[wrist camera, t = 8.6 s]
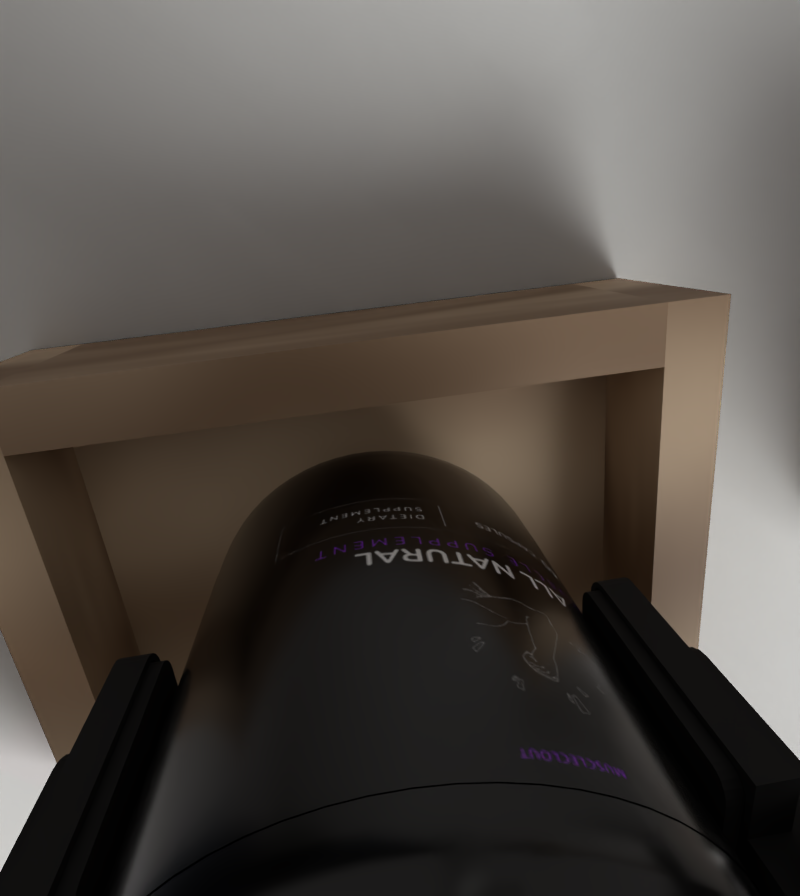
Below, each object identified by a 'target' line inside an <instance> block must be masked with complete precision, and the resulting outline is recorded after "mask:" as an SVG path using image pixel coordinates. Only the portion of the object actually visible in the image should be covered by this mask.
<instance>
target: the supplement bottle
mask: <svg viewBox="0 0 800 896" xmlns="http://www.w3.org/2000/svg"><path fill="white" fill-rule="evenodd" d="M103 896H762V895H761V893H760V891H759V889H758V887H757V886H756V884H755V882H754V881H753V879H752V878H751V876H750V874H749V873H748V871H747V870H746V868H745V866H744V865H743V863H742V862H741V860H740V859H739V857H738V855H737V854H736V852H735V851H734V849H733V848H732V846H731V845H730V843H729V841H728V840H727V838H726V837H725V835H724V834H723V832H722V831H721V829H720V827H719V826H718V824H717V823H716V821H715V820H714V818H713V817H712V815H711V813H710V812H709V810H708V809H707V807H706V806H705V804H704V803H703V801H702V799H701V798H700V796H699V795H698V793H697V792H696V790H695V788H694V787H693V785H692V784H691V782H690V781H689V779H688V778H687V776H686V774H685V773H684V771H683V770H682V768H681V767H680V765H679V764H678V762H677V761H676V759H675V757H674V756H673V754H672V753H671V751H670V750H669V748H668V747H667V745H666V743H665V742H664V740H663V739H662V737H661V736H660V734H659V733H658V731H657V729H656V728H655V726H654V725H653V723H652V722H651V720H650V719H649V717H648V715H647V714H646V712H645V711H644V709H643V708H642V706H641V705H640V703H639V701H638V700H637V698H636V697H635V695H634V694H633V692H632V691H631V689H630V687H629V686H628V684H627V683H626V681H625V680H624V678H623V677H622V675H621V673H620V672H619V670H618V669H617V667H616V666H615V664H614V663H613V661H612V659H611V658H610V656H609V655H608V653H607V652H606V650H605V649H604V647H603V645H602V644H601V642H600V641H599V639H598V638H597V636H596V635H595V633H594V631H593V630H592V628H591V627H590V625H589V624H588V622H587V621H586V619H585V617H584V616H583V614H582V613H581V611H580V610H579V608H578V607H577V605H576V603H575V602H574V600H573V599H572V597H571V596H570V594H569V593H568V591H567V590H566V588H565V586H564V585H563V583H562V582H561V580H560V579H559V577H558V576H557V574H556V572H555V571H554V569H553V568H552V566H551V565H550V563H549V562H548V560H547V558H546V557H545V555H544V554H543V552H542V551H541V549H540V548H539V546H538V544H537V543H536V541H535V540H534V539H533V537H532V536H531V534H530V533H529V531H528V530H527V529H526V527H525V526H524V524H523V523H522V521H521V520H520V518H519V517H518V516H517V514H516V513H515V511H514V510H513V509H512V508H511V507H510V506H509V505H508V503H507V502H506V501H505V500H504V499H503V498H502V497H501V496H500V495H499V494H498V493H497V492H496V491H495V490H494V489H493V488H492V487H490V486H489V485H488V484H487V483H485V482H484V481H482V480H481V479H480V478H478V477H477V476H475V475H473V474H472V473H470V472H468V471H466V470H465V469H463V468H460V467H458V466H456V465H454V464H451V463H449V462H446V461H443V460H440V459H437V458H434V457H430V456H426V455H422V454H417V453H410V452H402V451H370V452H362V453H355V454H350V455H346V456H341V457H337V458H334V459H331V460H328V461H325V462H322V463H319V464H317V465H315V466H313V467H311V468H308V469H306V470H304V471H302V472H301V473H299V474H297V475H295V476H294V477H292V478H290V479H289V480H287V481H286V482H284V483H283V484H282V485H280V486H279V487H277V488H276V489H275V490H273V491H272V492H271V493H270V494H269V495H268V496H267V497H265V498H264V499H263V500H262V501H261V502H260V503H259V504H258V505H257V507H256V508H255V509H254V510H253V511H252V512H251V513H250V515H249V516H248V517H247V519H246V520H245V521H244V523H243V524H242V526H241V527H240V529H239V531H238V532H237V534H236V536H235V537H234V539H233V541H232V543H231V545H230V547H229V550H228V552H227V554H226V556H225V559H224V561H223V564H222V567H221V569H220V572H219V574H218V576H217V579H216V582H215V584H214V587H213V590H212V593H211V595H210V598H209V601H208V604H207V607H206V609H205V612H204V615H203V618H202V621H201V623H200V626H199V629H198V632H197V635H196V637H195V640H194V643H193V646H192V648H191V651H190V654H189V657H188V660H187V662H186V665H185V668H184V671H183V674H182V676H181V679H180V682H179V685H178V688H177V690H176V693H175V696H174V699H173V701H172V704H171V707H170V710H169V713H168V715H167V718H166V721H165V724H164V727H163V729H162V732H161V735H160V738H159V741H158V743H157V746H156V749H155V752H154V754H153V757H152V760H151V763H150V766H149V768H148V771H147V774H146V777H145V780H144V782H143V785H142V788H141V791H140V794H139V796H138V799H137V802H136V805H135V807H134V810H133V813H132V816H131V819H130V821H129V824H128V827H127V830H126V833H125V835H124V838H123V841H122V844H121V847H120V849H119V852H118V855H117V858H116V860H115V863H114V866H113V869H112V872H111V874H110V877H109V880H108V883H107V886H106V888H105V891H104V894H103Z"/></svg>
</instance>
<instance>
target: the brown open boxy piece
mask: <svg viewBox="0 0 800 896" xmlns="http://www.w3.org/2000/svg"><path fill="white" fill-rule="evenodd" d="M730 299H731V294H726V293H719V292H712V291H705V290H698V289H691V288H684V287H676V286H669V285H662V284H655V283H648V282H641V281H634V280H627V279H620V278H617V279H608V280H600V281H592V282H584V283H576V284H568V285H560V286H551V287H543V288H535V289H527V290H519V291H511V292H503V293H494V294H486V295H478V296H470V297H462V298H454V299H446V300H437V301H429V302H421V303H413V304H405V305H397V306H389V307H380V308H372V309H364V310H356V311H348V312H340V313H332V314H323V315H315V316H307V317H299V318H291V319H283V320H275V321H266V322H258V323H250V324H242V325H234V326H226V327H218V328H209V329H201V330H193V331H185V332H177V333H169V334H161V335H152V336H144V337H136V338H128V339H120V340H112V341H104V342H95V343H87V344H79V345H71V346H63V347H55V348H47V349H38V350H31V351H28V352H25V353H23V354H20V355H17V356H15V357H12V358H10V359H7V360H4V361H2V362H0V630H1V632H2V634H3V637H4V639H5V641H6V644H7V646H8V649H9V651H10V653H11V656H12V658H13V660H14V663H15V665H16V667H17V670H18V672H19V675H20V677H21V679H22V682H23V684H24V686H25V689H26V691H27V693H28V696H29V698H30V701H31V703H32V705H33V708H34V710H35V712H36V715H37V717H38V719H39V722H40V724H41V726H42V729H43V731H44V734H45V736H46V738H47V741H48V743H49V745H50V748H51V750H52V752H53V755H54V757H55V760H56V762H57V763H58V761H59V760H60V759H61V758H62V757H63V756H65V755H66V754H69V753H70V751H71V749H72V747H73V745H74V743H75V741H76V739H77V737H78V735H79V733H80V731H81V729H82V727H83V725H84V723H85V721H86V719H87V717H88V715H89V713H90V711H91V709H92V707H93V705H94V703H95V701H96V699H97V697H98V695H99V693H100V691H101V689H102V687H103V685H104V683H105V681H106V679H107V677H108V675H109V673H110V671H111V669H112V667H113V665H114V663H115V662H116V661H117V660H118V659H120V658H126V657H132V656H138V655H144V654H151V653H155V654H157V656H158V657H159V659H160V661H164V660H168V661H169V662H170V663H171V665H172V668H173V671H174V675H175V678H176V681H177V684H178V685H179V682H180V679H181V676H182V674H183V671H184V668H185V665H186V662H187V660H188V657H189V654H190V651H191V648H192V646H193V643H194V640H195V637H196V635H197V632H198V629H199V626H200V623H201V621H202V618H203V615H204V612H205V609H206V607H207V604H208V601H209V598H210V595H211V593H212V590H213V587H214V584H215V582H216V579H217V576H218V574H219V572H220V569H221V567H222V564H223V561H224V559H225V556H226V554H227V552H228V550H229V547H230V545H231V543H232V541H233V539H234V537H235V536H236V534H237V532H238V531H239V529H240V527H241V526H242V524H243V523H244V521H245V520H246V519H247V517H248V516H249V515H250V513H251V512H252V511H253V510H254V509H255V508H256V507H257V505H258V504H259V503H260V502H261V501H262V500H263V499H264V498H265V497H267V496H268V495H269V494H270V493H271V492H272V491H273V490H275V489H276V488H277V487H279V486H280V485H282V484H283V483H284V482H286V481H287V480H289V479H290V478H292V477H294V476H295V475H297V474H299V473H301V472H302V471H304V470H306V469H308V468H311V467H313V466H315V465H317V464H319V463H322V462H325V461H328V460H331V459H334V458H337V457H341V456H346V455H350V454H355V453H362V452H370V451H402V452H410V453H417V454H422V455H426V456H430V457H434V458H437V459H440V460H443V461H446V462H449V463H451V464H454V465H456V466H458V467H460V468H463V469H465V470H466V471H468V472H470V473H472V474H473V475H475V476H477V477H478V478H480V479H481V480H482V481H484V482H485V483H487V484H488V485H489V486H490V487H492V488H493V489H494V490H495V491H496V492H497V493H498V494H499V495H500V496H501V497H502V498H503V499H504V500H505V501H506V502H507V503H508V505H509V506H510V507H511V508H512V509H513V510H514V511H515V513H516V514H517V516H518V517H519V518H520V520H521V521H522V523H523V524H524V526H525V527H526V529H527V530H528V531H529V533H530V534H531V536H532V537H533V539H534V540H535V541H536V543H537V544H538V546H539V548H540V549H541V551H542V552H543V554H544V555H545V557H546V558H547V560H548V562H549V563H550V565H551V566H552V568H553V569H554V571H555V572H556V574H557V576H558V577H559V579H560V580H561V582H562V583H563V585H564V586H565V588H566V590H567V591H568V593H569V594H570V596H571V597H572V599H573V600H574V602H575V603H576V605H577V607H578V608H579V610H580V611H581V613H582V598H583V594H584V593H585V592H589V591H591V587H592V584H593V583H594V582H598V581H604V580H610V579H616V578H623V577H626V578H628V579H630V580H631V581H632V582H633V583H634V585H635V586H636V587H637V588H638V589H639V590H640V591H641V593H642V594H643V595H644V596H645V597H646V598H647V600H648V601H649V602H650V603H651V604H652V605H653V606H654V608H655V609H656V610H657V611H658V612H659V613H660V614H661V616H662V617H663V618H664V619H665V620H666V621H667V622H668V624H669V625H670V626H671V627H672V628H673V629H674V631H675V632H676V633H677V634H678V635H679V636H680V637H681V639H682V640H683V641H684V642H685V643H686V644H687V645H688V647H694V648H696V649H698V643H699V632H700V621H701V611H702V600H703V589H704V578H705V568H706V557H707V546H708V536H709V525H710V514H711V503H712V493H713V482H714V471H715V460H716V450H717V439H718V428H719V417H720V407H721V396H722V385H723V375H724V364H725V353H726V342H727V332H728V321H729V310H730Z"/></svg>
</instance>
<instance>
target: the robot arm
mask: <svg viewBox="0 0 800 896" xmlns="http://www.w3.org/2000/svg"><path fill="white" fill-rule="evenodd" d="M582 614H583V616H584V617H585V619H586V621H587V622H588V624H589V625H590V627H591V628H592V630H593V631H594V633H595V635H596V636H597V638H598V639H599V641H600V642H601V644H602V645H603V647H604V649H605V650H606V652H607V653H608V655H609V656H610V658H611V659H612V661H613V663H614V664H615V666H616V667H617V669H618V670H619V672H620V673H621V675H622V677H623V678H624V680H625V681H626V683H627V684H628V686H629V687H630V689H631V691H632V692H633V694H634V695H635V697H636V698H637V700H638V701H639V703H640V705H641V706H642V708H643V709H644V711H645V712H646V714H647V715H648V717H649V719H650V720H651V722H652V723H653V725H654V726H655V728H656V729H657V731H658V733H659V734H660V736H661V737H662V739H663V740H664V742H665V743H666V745H667V747H668V748H669V750H670V751H671V753H672V754H673V756H674V757H675V759H676V761H677V762H678V764H679V765H680V767H681V768H682V770H683V771H684V773H685V774H686V776H687V778H688V779H689V781H690V782H691V784H692V785H693V787H694V788H695V790H696V792H697V793H698V795H699V796H700V798H701V799H702V801H703V803H704V804H705V806H706V807H707V809H708V810H709V812H710V813H711V815H712V817H713V818H714V820H715V821H716V823H717V824H718V826H719V827H720V829H721V831H722V832H723V834H724V835H725V837H726V838H727V840H728V841H729V843H730V845H731V846H732V848H733V849H734V851H735V852H736V854H737V855H738V857H739V859H740V860H741V862H742V863H743V865H744V866H745V868H746V870H747V871H748V873H749V874H750V876H751V878H752V879H753V881H754V882H755V884H756V886H757V887H758V889H759V891H760V893H761V895H762V896H800V760H799V759H798V758H797V757H796V756H795V755H794V753H793V752H792V751H791V750H790V749H789V748H788V747H787V746H786V744H785V743H784V742H783V741H782V740H781V739H780V738H779V737H778V736H777V734H776V733H775V732H774V731H773V730H772V729H771V728H770V727H769V725H768V724H767V723H766V722H765V721H764V720H763V719H762V718H761V717H760V715H759V714H758V713H757V712H756V711H755V710H754V709H753V708H752V706H751V705H750V704H749V703H748V702H747V701H746V700H745V699H744V697H743V696H742V695H741V694H740V693H739V692H738V691H737V690H736V689H735V687H734V686H733V685H732V684H731V683H730V682H729V681H728V680H727V678H726V677H725V676H724V675H723V674H722V673H721V672H720V671H719V670H718V668H717V667H716V666H715V665H714V664H713V663H712V662H711V661H710V659H709V658H708V657H707V656H706V655H705V654H704V653H702V652H701V651H700V650H699V649H696V648H694V647H688V645H687V644H686V643H685V642H684V641H683V640H682V639H681V637H680V636H679V635H678V634H677V633H676V632H675V631H674V629H673V628H672V627H671V626H670V625H669V624H668V622H667V621H666V620H665V619H664V618H663V617H662V616H661V614H660V613H659V612H658V611H657V610H656V609H655V608H654V606H653V605H652V604H651V603H650V602H649V601H648V600H647V598H646V597H645V596H644V595H643V594H642V593H641V591H640V590H639V589H638V588H637V587H636V586H635V585H634V583H633V582H632V581H631V580H630V579H628V578H626V577H623V578H616V579H610V580H604V581H598V582H594V583H593V584H592V587H591V591H589V592H585V593H584V594H583V598H582ZM177 688H178V684H177V681H176V678H175V675H174V671H173V668H172V665H171V663H170V662H169V661H168V660H164V661H160V659H159V657H158V656H157V654H155V653H151V654H144V655H138V656H132V657H126V658H120V659H118V660H117V661H116V662H115V663H114V665H113V667H112V669H111V671H110V673H109V675H108V677H107V679H106V681H105V683H104V685H103V687H102V689H101V691H100V693H99V695H98V697H97V699H96V701H95V703H94V705H93V707H92V709H91V711H90V713H89V715H88V717H87V719H86V721H85V723H84V725H83V727H82V729H81V731H80V733H79V735H78V737H77V739H76V741H75V743H74V745H73V747H72V749H71V751H70V753H69V754H66V755H65V756H63V757H62V758H61V759H60V760H59V761H58V763H57V764H56V766H55V767H54V769H53V771H52V772H51V774H50V776H49V778H48V780H47V782H46V784H45V786H44V788H43V790H42V792H41V794H40V796H39V798H38V800H37V802H36V804H35V806H34V808H33V809H32V811H31V813H30V815H29V817H28V819H27V821H26V823H25V825H24V827H23V829H22V831H21V833H20V835H19V837H18V839H17V841H16V843H15V845H14V847H13V848H12V850H11V852H10V854H9V856H8V858H7V860H6V862H5V864H4V866H3V868H2V870H1V872H0V896H103V894H104V891H105V888H106V886H107V883H108V880H109V877H110V874H111V872H112V869H113V866H114V863H115V860H116V858H117V855H118V852H119V849H120V847H121V844H122V841H123V838H124V835H125V833H126V830H127V827H128V824H129V821H130V819H131V816H132V813H133V810H134V807H135V805H136V802H137V799H138V796H139V794H140V791H141V788H142V785H143V782H144V780H145V777H146V774H147V771H148V768H149V766H150V763H151V760H152V757H153V754H154V752H155V749H156V746H157V743H158V741H159V738H160V735H161V732H162V729H163V727H164V724H165V721H166V718H167V715H168V713H169V710H170V707H171V704H172V701H173V699H174V696H175V693H176V690H177Z"/></svg>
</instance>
